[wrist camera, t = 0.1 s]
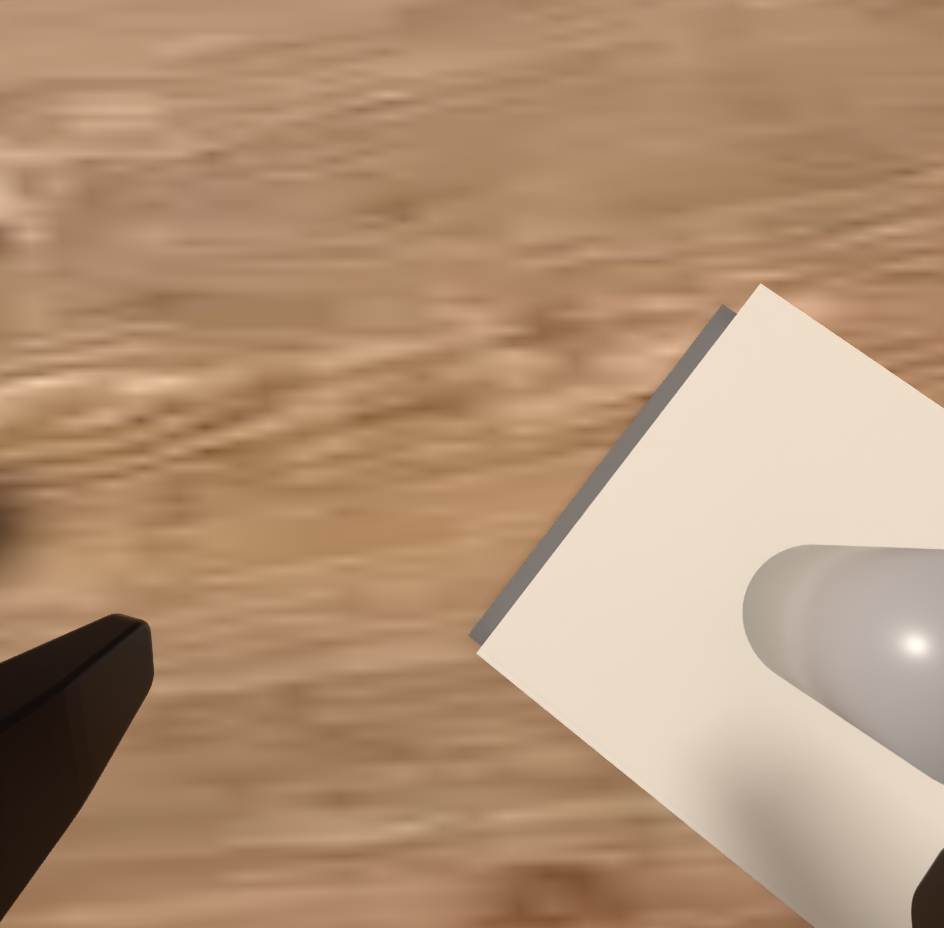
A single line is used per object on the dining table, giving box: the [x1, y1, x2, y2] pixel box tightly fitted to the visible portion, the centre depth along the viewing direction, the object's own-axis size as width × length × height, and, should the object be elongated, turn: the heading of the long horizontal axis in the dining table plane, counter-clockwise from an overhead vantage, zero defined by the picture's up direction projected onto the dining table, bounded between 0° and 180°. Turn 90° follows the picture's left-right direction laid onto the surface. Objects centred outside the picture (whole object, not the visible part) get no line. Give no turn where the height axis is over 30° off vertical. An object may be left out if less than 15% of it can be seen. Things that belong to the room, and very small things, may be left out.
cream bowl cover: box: [476, 284, 944, 928], centre depth 17 cm, size 11×11×12 cm
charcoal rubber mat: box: [469, 305, 737, 646], centre depth 23 cm, size 12×12×1 cm
